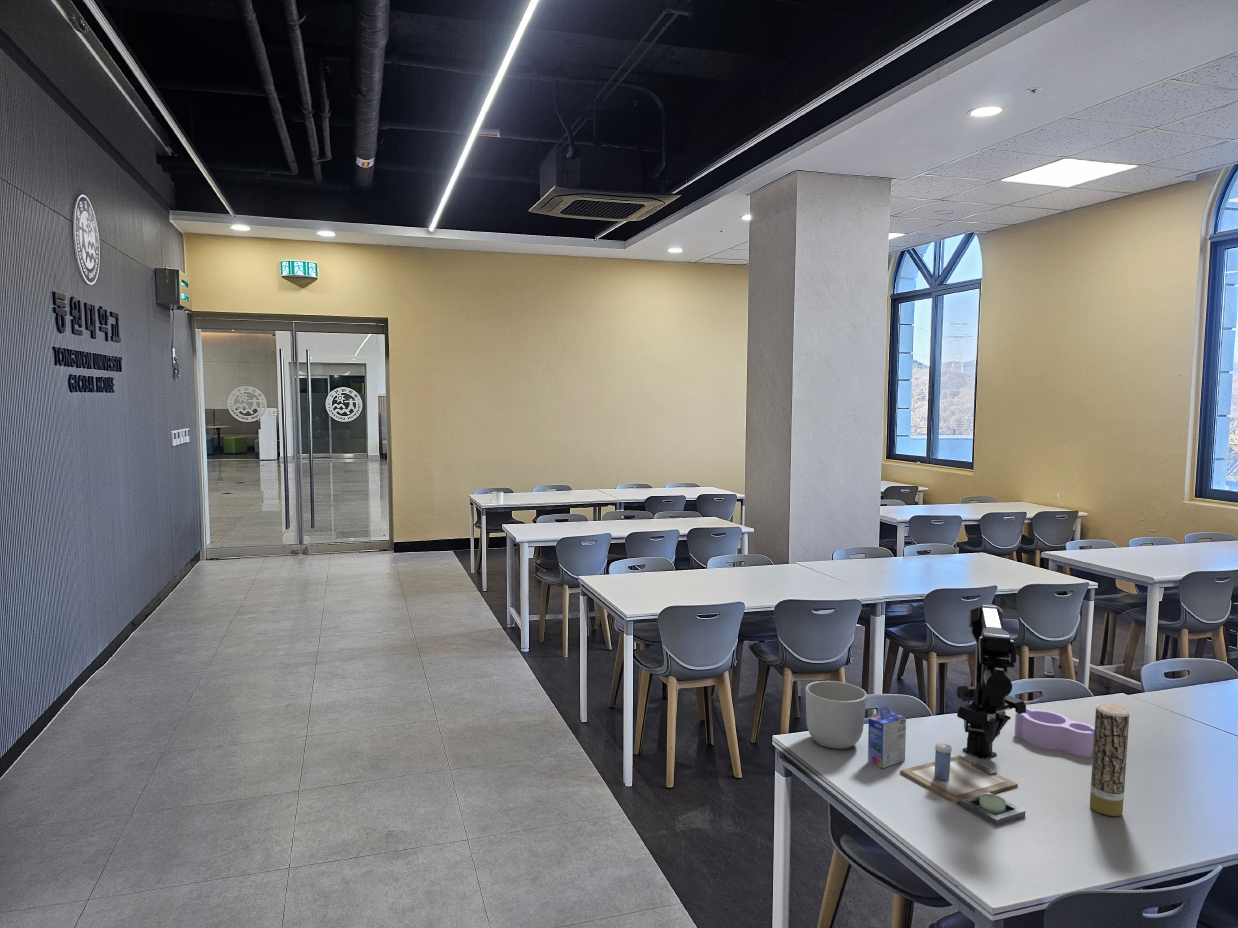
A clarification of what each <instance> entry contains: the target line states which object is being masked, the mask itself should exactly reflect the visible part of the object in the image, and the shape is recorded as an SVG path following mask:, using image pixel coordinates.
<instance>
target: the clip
mask: <svg viewBox="0 0 1238 928" xmlns="http://www.w3.org/2000/svg"><path fill="white" fill-rule="evenodd" d="M1094 730H1095V726H1093V725H1092V724H1088V723H1087V722H1086V723H1085V722H1081V721H1076V720H1072V719H1070V718H1069V717H1067V716H1065V715H1063V714H1060V713H1058V712H1054V711H1050V710H1045V709H1032V708H1030V707H1028V706H1026V713H1022V714H1017V713H1016V712H1015V721H1014V736H1015V737H1017V738H1018V737H1019V738H1022V740H1024V741H1025V742H1027V743H1028V744H1031V745H1033V746H1036V747H1039V748H1045V749H1050V750H1060V751H1063V752H1066V753H1068V754H1071V755H1075V756H1078V757H1082V758H1083V757H1085V758H1090V757H1091V758H1092V754H1093V745H1094Z"/></svg>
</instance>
